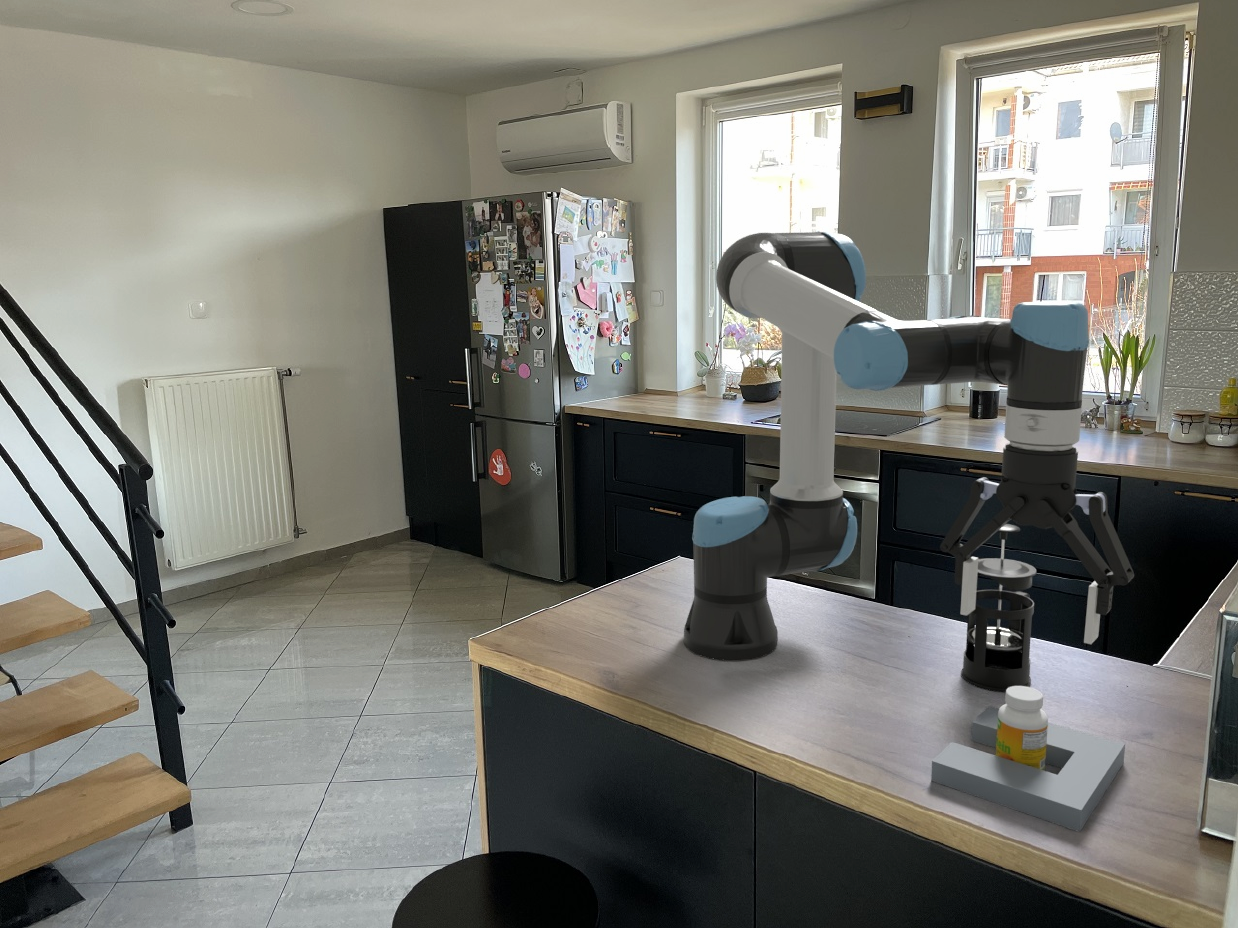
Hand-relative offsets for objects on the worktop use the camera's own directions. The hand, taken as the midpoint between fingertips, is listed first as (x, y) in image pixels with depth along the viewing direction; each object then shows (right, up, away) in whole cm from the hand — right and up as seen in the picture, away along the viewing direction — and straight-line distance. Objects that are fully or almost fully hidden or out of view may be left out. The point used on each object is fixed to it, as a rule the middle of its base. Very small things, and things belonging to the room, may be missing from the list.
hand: (1026, 625), depth 105 cm
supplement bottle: (+1, -18, +3) cm, 18 cm away
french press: (+8, -13, +28) cm, 32 cm away
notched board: (+1, -18, +3) cm, 18 cm away
